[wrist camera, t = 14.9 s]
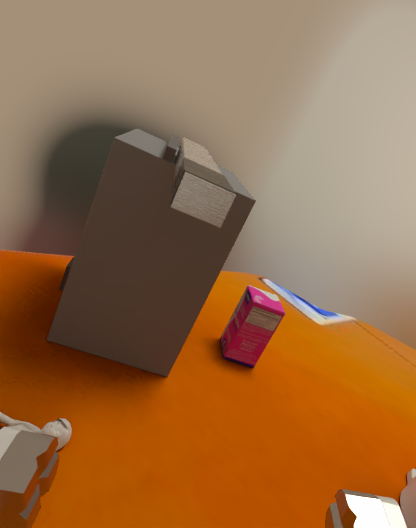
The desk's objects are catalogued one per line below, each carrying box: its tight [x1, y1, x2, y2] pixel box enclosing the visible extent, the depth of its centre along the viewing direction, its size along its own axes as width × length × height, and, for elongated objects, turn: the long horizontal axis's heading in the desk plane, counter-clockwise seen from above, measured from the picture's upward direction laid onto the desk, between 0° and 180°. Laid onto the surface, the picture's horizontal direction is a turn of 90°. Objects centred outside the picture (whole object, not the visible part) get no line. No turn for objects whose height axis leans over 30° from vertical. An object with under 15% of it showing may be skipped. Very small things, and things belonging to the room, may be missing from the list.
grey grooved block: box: [47, 129, 256, 377], centre depth 50 cm, size 17×20×27 cm
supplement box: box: [220, 285, 285, 368], centre depth 58 cm, size 6×6×12 cm
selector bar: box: [170, 138, 236, 228], centre depth 32 cm, size 3×28×2 cm, turn 5°
